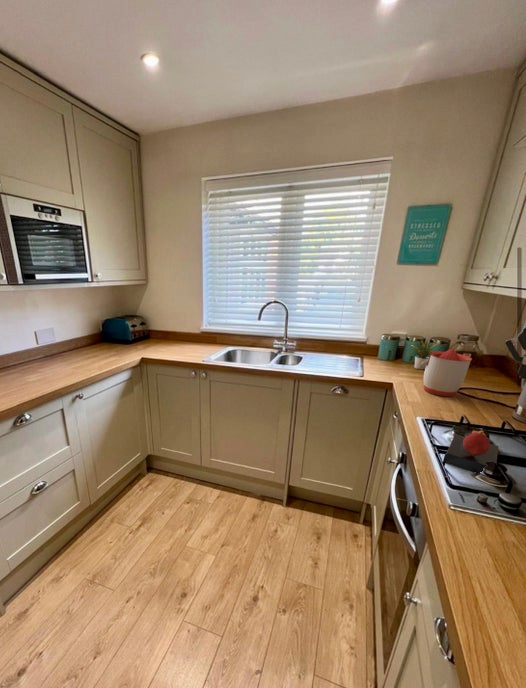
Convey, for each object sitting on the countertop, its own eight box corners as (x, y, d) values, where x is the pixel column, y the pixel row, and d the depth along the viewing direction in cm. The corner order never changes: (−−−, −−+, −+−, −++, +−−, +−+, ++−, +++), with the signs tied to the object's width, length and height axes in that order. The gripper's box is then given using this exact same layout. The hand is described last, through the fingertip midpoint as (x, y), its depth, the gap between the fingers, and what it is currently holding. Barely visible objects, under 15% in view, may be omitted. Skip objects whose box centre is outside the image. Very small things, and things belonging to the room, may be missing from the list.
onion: (454, 450, 95) (463, 425, 92) (472, 450, 95) (481, 425, 92) (471, 461, 89) (481, 435, 86) (490, 461, 90) (500, 435, 87)
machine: (451, 441, 106) (456, 428, 104) (495, 454, 100) (501, 440, 98) (443, 462, 94) (448, 447, 93) (491, 478, 88) (498, 462, 86)
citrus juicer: (416, 383, 160) (428, 342, 153) (459, 391, 151) (474, 348, 143) (412, 392, 148) (425, 348, 141) (459, 401, 139) (475, 355, 132)
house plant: (425, 364, 192) (433, 336, 185) (441, 371, 179) (450, 342, 173) (401, 364, 191) (409, 336, 185) (416, 371, 178) (424, 341, 172)
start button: (470, 434, 101) (472, 429, 100) (483, 438, 99) (485, 433, 98) (469, 438, 99) (471, 433, 98) (483, 442, 97) (485, 437, 96)
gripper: (586, 313, 80) (555, 380, 87) (515, 307, 88) (492, 369, 95) (590, 316, 75) (557, 387, 82) (515, 309, 83) (491, 375, 89)
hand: (522, 377), depth 88 cm, fingers closed
